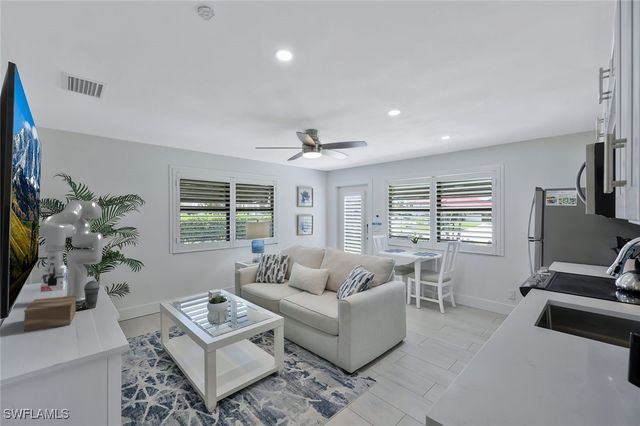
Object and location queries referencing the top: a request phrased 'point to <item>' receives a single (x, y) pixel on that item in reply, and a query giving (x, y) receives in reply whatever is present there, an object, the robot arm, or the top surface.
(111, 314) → the top surface
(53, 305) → the brown wooden board
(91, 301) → the beverage cup
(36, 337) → the top surface
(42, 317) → the wooden box
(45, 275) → the ink box
